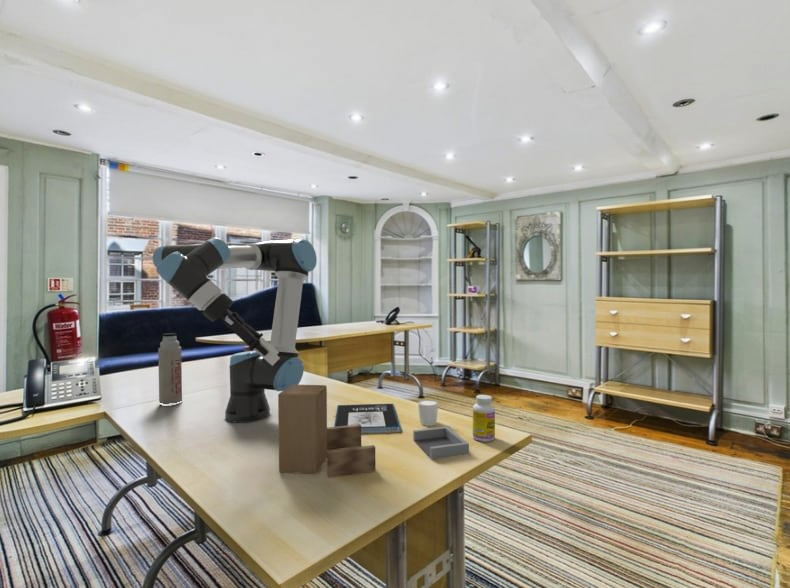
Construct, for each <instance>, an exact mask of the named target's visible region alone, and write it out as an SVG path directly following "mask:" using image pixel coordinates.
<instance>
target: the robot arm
mask: <svg viewBox="0 0 790 588" xmlns="http://www.w3.org/2000/svg"><path fill="white" fill-rule="evenodd" d="M152 263H153V266H155V269H156V273H157V274H158V275H159V276H160V278H161V279H163V281H164V282H165V283H166V284H168V285H170V287H172V288H173V289H174V290H176V292H178V293H179V294H180V295H181V296H182V297H183V298H185V299H186V300H187V301H188V302H189V303H190V304H189V306H190V307H191V308H193V307H195V308H196V309H197V310H198V311H202V315H204V317H206V318H207V319H208V320H209V321H211V322H215V321H216V320H217V319H219V318H221V319H222V320H223V321H222V323H223V325H224V326H226V327H227V328H229V329H230V330H231V332H233V333H234V334H235V335H236V336H237V337H239V339H241V340H242V341H243V342H244V343H245V344H246V345H247V346H248V347H249V348H248V349H249V350H248V351H242V352H237V353H234V354H232V355H231V356H230V358H229V392H230V396H229V399H228V402H227V405H226V408H225V411H224V412H225V413H224V418H226V419H227V420H226V419H225V420H226V421H228V420H230V421H229V422H231V421H236V422H235V423H248V422H249V421H250V422H254V421H255V422H256V421H259V420H262V419H265V418H267V417H268V416H270V414H271V413H270V412H271V407H270V404H269V402H268V398H267V396H266V393H265V391H266V390H270V391H276V392H282V391H284V390H285V389H286V388H288V387H289V386H291V385H300V382H301V381H302V378H303V375H304V371H305V365H304V364H303V360H302V359H301V358H299V351H298V350H297V349H296V343H297V334H298V333H297V332H298V326H299V316H300V308H301V302H302V293H303V285H304V282H305V281H306V280H308V278H309V273H310V272H312V271H314V269H315V268H316V266H317V253H316V249H314V246H313V244H312V243H311V242H310V241H309V240H307V239H300V238H293V239H278V240H275V239H274V240H267V241H262V242H256V243H255V242H254V243H252V242H250V243H246V244H244V245H228V244H227V242H225V241H224V240H223V239H221V238H218V237H211V238H209V239H207V240H205V242H204V243H198V244H197V243H196V244H182V245H180V244H179V245H175V244H174V245H168V244H167V245H163V246H158V247H156V248H155V250H154V252H153V253H152ZM243 268H244V269H246V270H249V271H255V270H256V271H265V272H275V273H274V275H276V277H277V278H278V281H277V283H278V284H277V290H276V295H275V296H276V297H275V304H274V311H273V319H272V324H271V325H272V326H271V335H270V341H269V342H268V341H267V340H266V339H265V338H264V337H263V336H264V333H262V332H260V333H259V332H258V331H256V329H255V328H253V327H252V326H250V325H249V324H248V323H247V322H246V320H244V319H243V318H242V317H241V316H240V314H239V313H237V312H236V311H233V312H232V311H231V310H230V309H229V308H230V307H231V306H232V305H233V304H234V300H233V299H231V298H230V297H229V296H228V295H227V294H226V293H224V292H222V290H221V288H220V287H218V285H216V283H214V282H213V281H212V279H210V278H208V276H209V275H210V274H212V273H214V272H215V271H216V270H223V269H225V270H226V269H243Z"/></svg>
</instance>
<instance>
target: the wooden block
mask: <svg viewBox="0 0 790 588" xmlns="http://www.w3.org/2000/svg"><path fill="white" fill-rule="evenodd" d="M327 390H328V387H327V385H325V384H298V385H291V386H289V387H288V388H286V389H285V390H284V391H280V393H278V395H277V397H278V399H277V401H278V402H277V404H278V405H277V406H278V470H279V471H278V472H280V473H293V474H311V475H313V474H314V475H315V474H318V473H319V471H320V469H321V468H322V466H323V464H325V463H324V462H325V461H327V451H328V450H327V428H328V401H327V400H328V399H327V398H328V395H327V394H328V393H327V392H328V391H327Z"/></svg>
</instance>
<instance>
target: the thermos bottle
mask: <svg viewBox="0 0 790 588" xmlns="http://www.w3.org/2000/svg"><path fill="white" fill-rule="evenodd" d="M159 345H160V347H158V355H157V357H158V358H157V359H158V397H159V398H158V399H159V401H158V403H159V402H160V403H163V404H169V403H177V402H180V401H182V402H183V380H182V379H183V376H182V375H183V374H182V373H183V371H182V365H183V363H182V346H180V341H179V340H177V333H176V332H169V333H162V341H161V342H160V343H159Z"/></svg>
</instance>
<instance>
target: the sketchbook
mask: <svg viewBox="0 0 790 588" xmlns="http://www.w3.org/2000/svg"><path fill="white" fill-rule="evenodd" d="M335 414H336V415H335V419H334V425H333V427H338V426H347V425H356V424H360V425H361V434H364V435H369V434H372V435H374V434H375V435H376V434H387V433H391V434H393V433H394V434H399V433H401V432H402V427H401V424H400V421H399V417H398V414H397V411H396V408H395V405H394V403H368V404H367V403H365V404H362V403H360V404H338V405H337V408H336V413H335Z"/></svg>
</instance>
